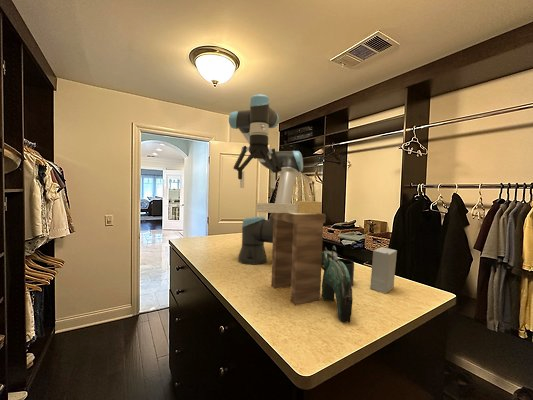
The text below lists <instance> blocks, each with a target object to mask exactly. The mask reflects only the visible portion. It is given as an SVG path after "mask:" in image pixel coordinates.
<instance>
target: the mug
mask: <svg viewBox="0 0 533 400" xmlns="http://www.w3.org/2000/svg"><path fill="white" fill-rule="evenodd" d="M338 260H340V261H341V262H343V263H344V264H345V266H346V267H347V270H349V275H350V279H351V285H352V286H353V285H354V278H355V276H354V274H355V273H354V272H355V262H354V261H353V260H351V259H346V258H339V257H338Z"/></svg>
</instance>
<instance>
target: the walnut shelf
mask: <svg viewBox="0 0 533 400" xmlns="http://www.w3.org/2000/svg"><path fill="white" fill-rule="evenodd" d="M270 215H271V218H273V243H272V249H271V250H272V252H271V253H272V255H271V285H270V286H271V287H272V288H273V289H275V290H277V289H282V288H283V289H285V288H290V303H291V304H292V305H294V306H301V305H305V304H311V303H316V302H321V291H322V268H321V264H322V252H323V238H324V237H323V236H324V235H323V234H324V233H323V232H324V224H326V221H327V220H326V219H327V218H326V217H327V215H326V213H321V214H309V213H270Z"/></svg>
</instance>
